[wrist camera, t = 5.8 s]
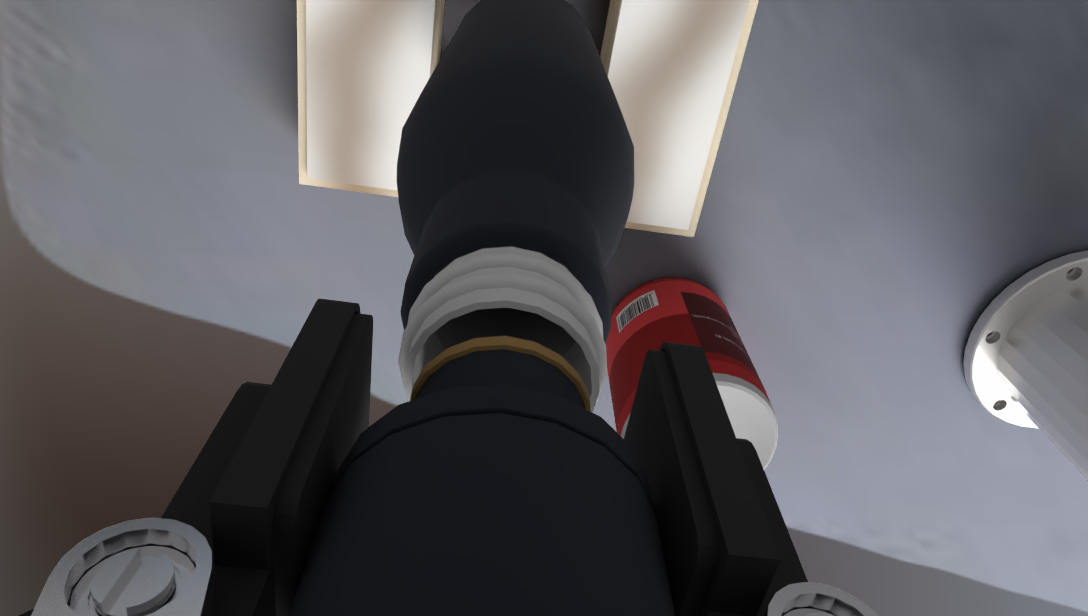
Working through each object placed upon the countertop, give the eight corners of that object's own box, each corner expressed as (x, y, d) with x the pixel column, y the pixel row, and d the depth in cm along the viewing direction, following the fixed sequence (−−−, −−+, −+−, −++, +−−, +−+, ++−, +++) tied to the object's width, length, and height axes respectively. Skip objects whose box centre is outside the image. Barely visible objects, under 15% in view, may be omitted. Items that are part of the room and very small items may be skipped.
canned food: (591, 375, 47) (606, 499, 37) (617, 264, 43) (641, 370, 34) (707, 389, 48) (751, 514, 38) (743, 281, 44) (802, 390, 34)
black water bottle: (514, -50, 30) (371, 334, 4) (627, 56, 32) (1022, 764, 6) (421, 73, 32) (-51, 820, 6) (532, 164, 35) (523, 1008, 8)
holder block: (757, -92, 34) (786, -90, 30) (680, 208, 41) (695, 240, 38) (320, -170, 32) (291, -178, 28) (319, 158, 40) (297, 186, 36)
